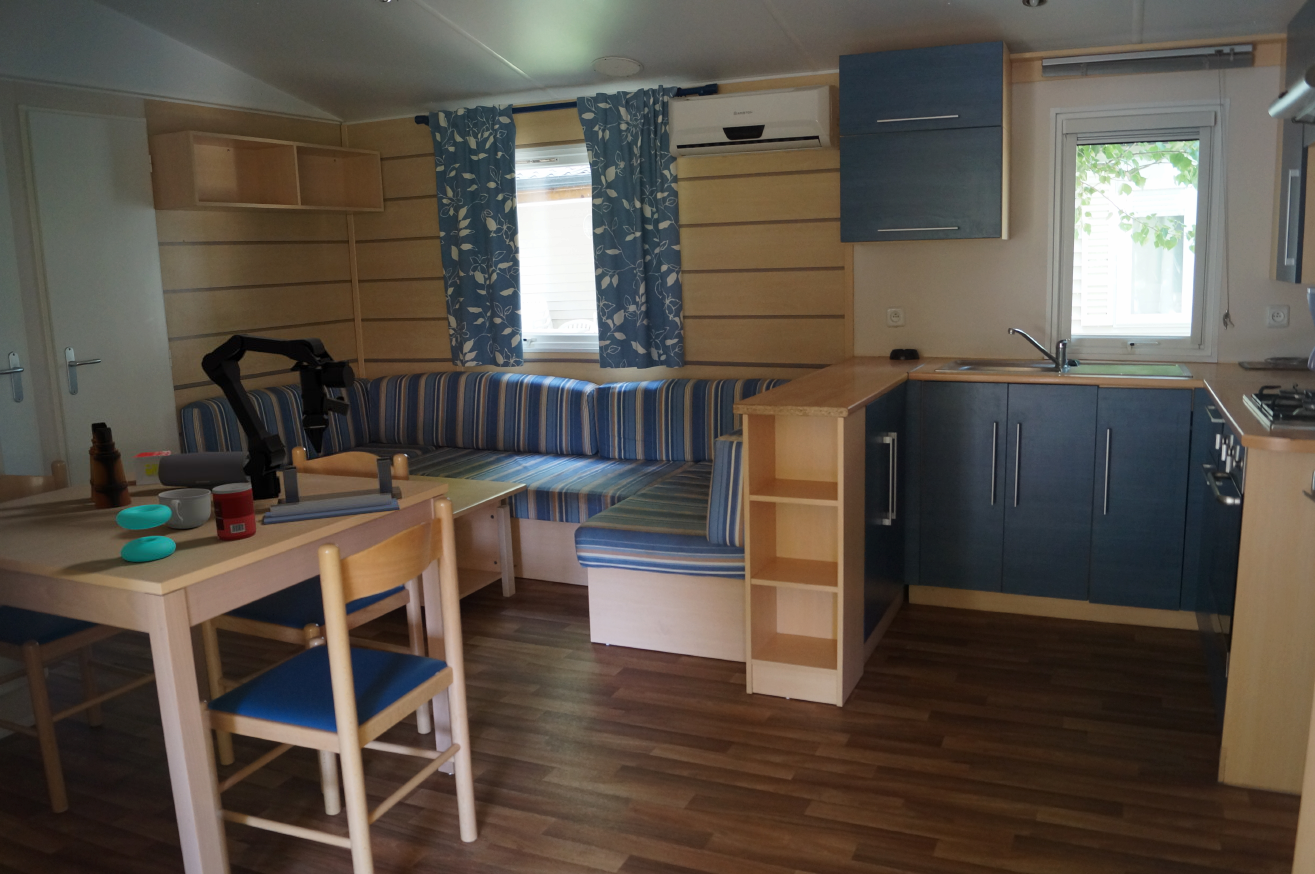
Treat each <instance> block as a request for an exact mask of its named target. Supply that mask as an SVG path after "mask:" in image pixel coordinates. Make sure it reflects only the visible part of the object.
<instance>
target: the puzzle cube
mask: <svg viewBox="0 0 1315 874" xmlns="http://www.w3.org/2000/svg"><path fill="white" fill-rule="evenodd" d="M167 455H172V451H171V450H164V451H163V450H160V451H149V452H140V453H138V454H137V455H135V456H133V457H132V461H133V469H134V477H135V483H136V486H143V485H157V484H161V482H160V480H159V477H158V468H159V462H160V459H161V457H163V456H167Z"/></svg>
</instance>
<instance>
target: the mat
mask: <svg viewBox="0 0 1315 874" xmlns="http://www.w3.org/2000/svg"><path fill="white" fill-rule="evenodd" d="M391 500H392V504H390V505H381V506H372V507H363V508H354V509H344V510H335V511H326V512H317V513H308V514H299V515H290V516H281V517H272V518H271V511H266V512H265V515H264V518H263V525H271V524H273V525H274V524H281V523H282V524H283V523H290V522H299V521H308V520H309V521H310V520H317V519H326V518H336V517H344V516H353V515H361V514H362V515H363V514H371V513H381V512H389V511H397V510H398V511H399V510H400V509H401V508H400V505H399V501H398V500H397V499H396V498H394V499H391Z"/></svg>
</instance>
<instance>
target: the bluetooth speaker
mask: <svg viewBox="0 0 1315 874" xmlns="http://www.w3.org/2000/svg"><path fill="white" fill-rule="evenodd" d="M250 459H251V458H250V455H249V452H248V451H202V452H201V451H200V452H188V453H187V452H184V453H176V454H174V453H173V454H171V455H167V456H163V457H161V459H160V462H159V468H158V477H159V480H160V482H161V483H160V484H161V485H162V486H164V487H175V488H177V487H178V488H179V487H180V488H188V489H192V488H194V489H207V490H210V491H211V490H212V489H213V488H215V487H217V486H221V485H226V484H233V483H249V484H250V483H251V480H250V476H246V475H245V473H244V471H243V467H244V466H245V465H246V464H247V463H248V461H249V460H250Z"/></svg>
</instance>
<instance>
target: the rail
mask: <svg viewBox="0 0 1315 874" xmlns="http://www.w3.org/2000/svg"><path fill="white" fill-rule="evenodd" d="M390 504H392V500H391V493H381V494H372V495H362V496H353V497H343V498H334V499H325V500H315V501H306V502H296V503H287V504H270V508H269V509H270V512H271V518H272V517H281V516H290V515H299V514H308V513H317V512H326V511H335V510H344V509H354V508H363V507H372V506H381V505H390Z"/></svg>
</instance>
